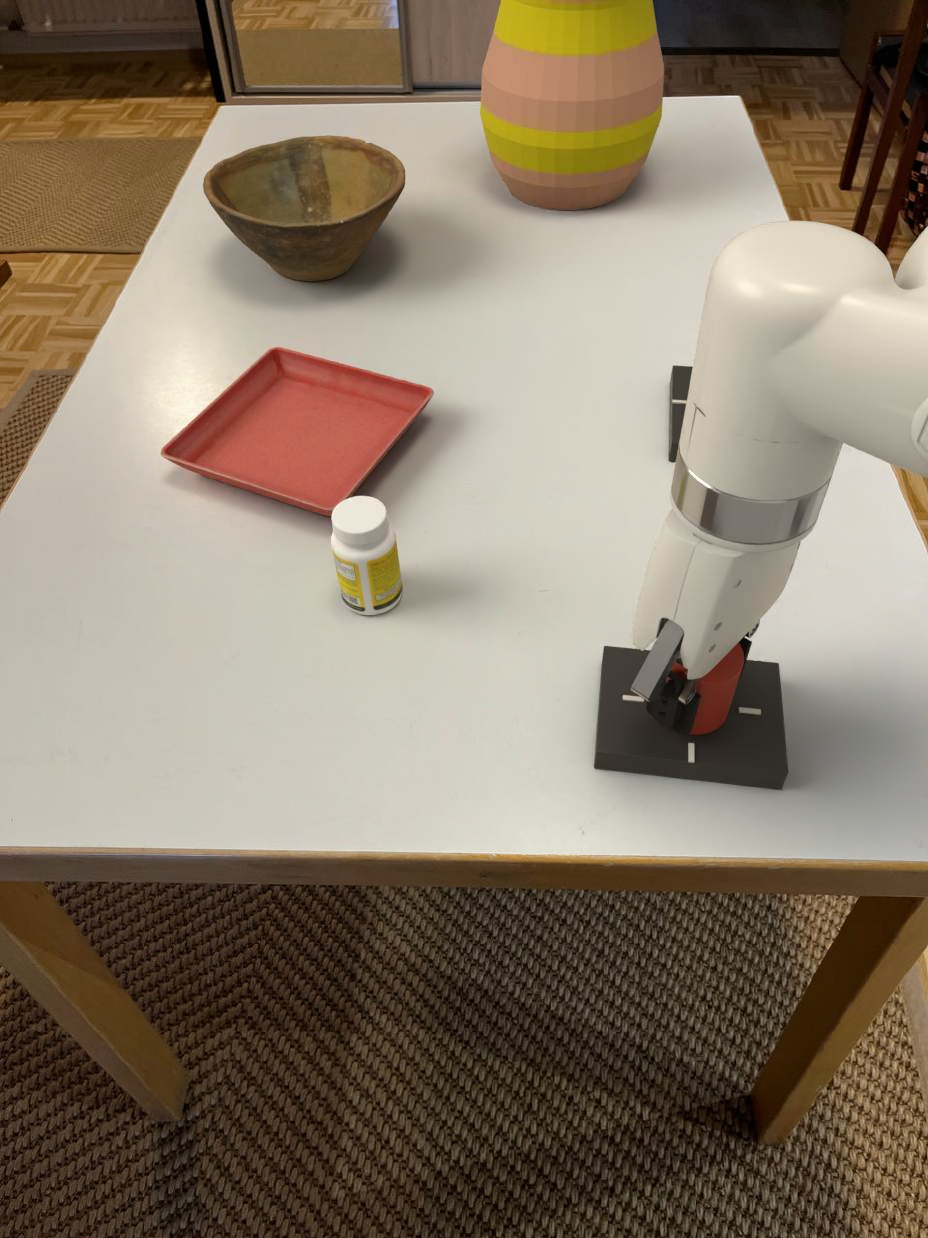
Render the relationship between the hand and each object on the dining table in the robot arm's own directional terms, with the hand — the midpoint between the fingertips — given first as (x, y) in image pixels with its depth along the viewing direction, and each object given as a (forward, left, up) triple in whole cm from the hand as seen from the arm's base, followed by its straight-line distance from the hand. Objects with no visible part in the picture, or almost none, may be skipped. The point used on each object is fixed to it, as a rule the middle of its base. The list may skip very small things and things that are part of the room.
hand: (693, 693), depth 60 cm
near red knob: (0, 0, -1) cm, 1 cm away
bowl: (+42, -60, -3) cm, 73 cm away
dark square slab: (-3, -34, -3) cm, 34 cm away
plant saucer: (+34, -26, -3) cm, 43 cm away
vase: (+15, -83, -3) cm, 84 cm away
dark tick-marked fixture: (0, 0, -3) cm, 3 cm away
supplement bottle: (+24, -9, -3) cm, 26 cm away
